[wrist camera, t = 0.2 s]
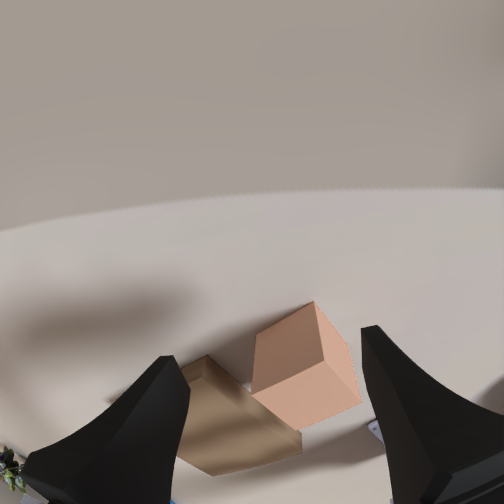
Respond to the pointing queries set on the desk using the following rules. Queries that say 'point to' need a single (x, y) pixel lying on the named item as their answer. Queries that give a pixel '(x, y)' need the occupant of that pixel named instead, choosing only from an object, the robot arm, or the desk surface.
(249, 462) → the block
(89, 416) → the desk surface
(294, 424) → the terracotta block
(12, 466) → the passion flower
